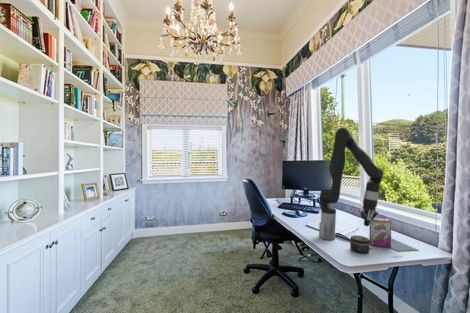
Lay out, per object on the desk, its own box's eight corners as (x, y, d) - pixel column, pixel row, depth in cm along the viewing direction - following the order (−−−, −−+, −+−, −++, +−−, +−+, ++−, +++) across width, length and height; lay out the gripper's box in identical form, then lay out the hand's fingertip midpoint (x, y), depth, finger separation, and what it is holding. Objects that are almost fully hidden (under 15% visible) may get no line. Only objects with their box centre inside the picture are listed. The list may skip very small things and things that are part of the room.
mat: (397, 251, 137) (397, 250, 137) (374, 240, 155) (374, 239, 155) (418, 250, 140) (418, 250, 140) (393, 239, 158) (393, 239, 158)
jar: (372, 255, 131) (372, 241, 131) (353, 253, 132) (353, 240, 132) (365, 248, 141) (366, 235, 141) (347, 246, 142) (348, 234, 142)
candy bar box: (370, 245, 146) (369, 219, 146) (369, 242, 150) (368, 217, 151) (391, 248, 141) (391, 221, 141) (389, 245, 146) (389, 219, 146)
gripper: (366, 198, 139) (362, 227, 140) (384, 200, 142) (379, 228, 143) (357, 196, 147) (352, 223, 147) (374, 198, 150) (370, 224, 150)
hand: (366, 225), depth 145 cm, fingers closed
